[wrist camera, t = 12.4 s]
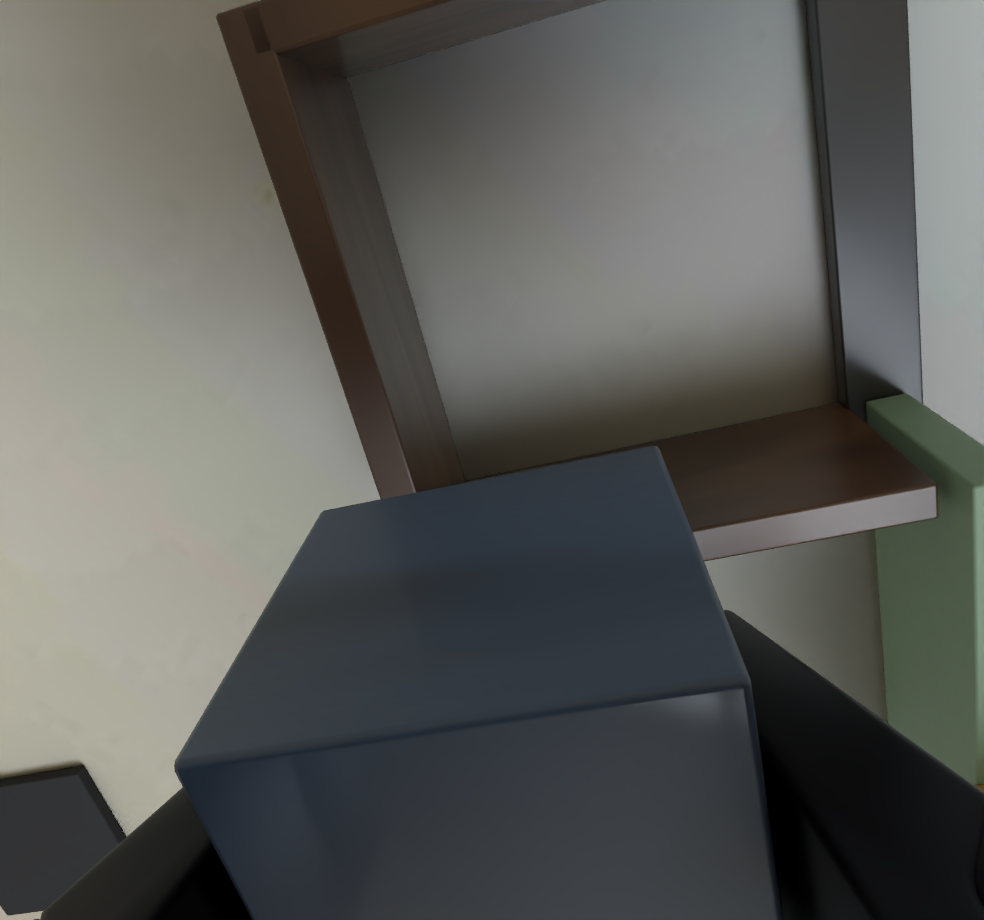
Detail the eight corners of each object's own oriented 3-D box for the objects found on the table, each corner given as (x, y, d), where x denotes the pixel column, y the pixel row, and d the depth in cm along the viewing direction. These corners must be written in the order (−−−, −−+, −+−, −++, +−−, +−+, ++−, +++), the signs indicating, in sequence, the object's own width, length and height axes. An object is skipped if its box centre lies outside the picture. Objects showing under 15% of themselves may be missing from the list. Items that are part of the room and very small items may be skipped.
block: (705, 721, 10) (805, 1067, 6) (413, 762, 10) (342, 1103, 7) (657, 441, 8) (752, 678, 5) (320, 508, 9) (167, 766, 5)
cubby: (889, -132, 15) (1046, -254, 10) (913, 415, 19) (1032, 502, 15) (302, 49, 17) (213, 13, 12) (445, 511, 21) (419, 615, 16)
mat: (155, 886, 28) (150, 896, 27) (13, 906, 29) (7, 916, 28) (83, 765, 26) (77, 774, 25) (-68, 790, 26) (-77, 799, 26)
